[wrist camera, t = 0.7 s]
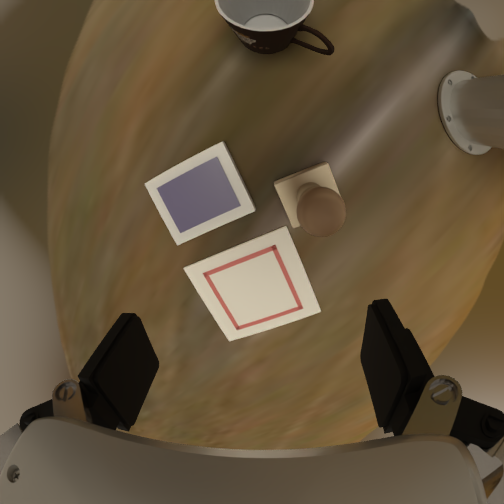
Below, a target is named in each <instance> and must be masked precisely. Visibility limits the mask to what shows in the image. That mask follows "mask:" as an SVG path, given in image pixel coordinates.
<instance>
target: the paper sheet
mask: <svg viewBox="0 0 504 504" xmlns="http://www.w3.org/2000/svg"><path fill="white" fill-rule="evenodd" d="M184 270H185V272H186V273H187V275H188V277H189V278H190V280H191V282H192V283H193V285H194V287H195V288H196V290H197V292H198V293H199V295H200V296H201V298H202V300H203V301H204V303H205V304H206V306H207V308H208V309H209V311H210V312H211V314H212V316H213V317H214V319H215V320H216V322H217V323H218V325H219V326H220V328H221V329H222V331H223V332H224V334H225V335H226V337H227V338H228V340H229V341H232V340H235V339H239V338H242V337H246V336H249V335H253V334H256V333H259V332H262V331H266V330H269V329H272V328H275V327H278V326H281V325H284V324H287V323H290V322H293V321H296V320H299V319H302V318H305V317H308V316H311V315H313V314H316V313H319V312H321V309H320V307H319V304H318V302H317V299H316V297H315V294H314V292H313V289H312V287H311V284H310V282H309V279H308V277H307V274H306V272H305V269H304V267H303V264H302V262H301V259H300V257H299V255H298V252H297V250H296V247H295V245H294V243H293V240H292V238H291V236H290V233H289V231H288V229H287V226H284V227H281V228H279V229H276V230H274V231H271V232H269V233H266V234H264V235H261V236H259V237H256V238H254V239H252V240H249V241H247V242H244V243H242V244H239V245H237V246H234V247H232V248H230V249H227V250H225V251H222V252H220V253H217V254H215V255H213V256H210V257H208V258H205V259H203V260H200V261H198V262H196V263H193V264H191V265H188V266H186V267H184Z"/></svg>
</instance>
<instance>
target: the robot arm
mask: <svg viewBox="0 0 504 504" xmlns="http://www.w3.org/2000/svg"><path fill="white" fill-rule="evenodd" d="M438 107H439V113H440V116H441V120H442V123H443V125H444V128H445V130H446V132H447V133H448V135H449V137H450V138H451V140H452V141H453V142H454V144H455V145H456V146H458V147H459V148H460V149H461V150H463V151H464V152H466V153H469V154H474V155H481V154H484V153H486V152H487V151H489V150H490V149H491V147H495V148H500V149H504V75H496V76H488V77H481V78H477V77H476V76H474V75H473V74H471V73H469V72H466V71H460V70H458V71H453V72H451V73H449V74H447V75H446V76H445V77H444V78H443V80H442V82H441V84H440V87H439V92H438ZM360 357H361V363H362V367H363V370H364V374H365V377H366V380H367V384H368V388H369V391H370V395H371V399H372V402H373V406H374V410H375V414H376V418H377V422H378V426H379V427H383V429H384V433H389V432H393V433H394V436H393V437H387V438H382V439H376V440H369V441H364V442H358V443H351V444H344V445H336V446H327V447H318V448H306V449H290V450H237V449H221V448H209V447H200V446H191V445H184V444H177V443H171V442H165V441H160V440H154V439H149V438H145V437H140V436H136V435H131V434H127V433H123V432H120V431H116V428H117V427H118V429H121V430H125V431H129V430H130V427H131V426H133V425H134V424H135V422H136V419H137V417H138V414H139V412H140V410H141V407H142V405H143V403H144V400H145V398H146V396H147V393H148V391H149V389H150V386H151V384H152V382H153V380H154V377H155V375H156V373H157V370H158V368H159V361H158V358H157V356H156V354H155V352H154V349H153V347H152V345H151V343H150V340H149V338H148V336H147V333H146V331H145V329H144V326H143V324H142V321H141V319H140V318H139V317H137V315H136V314H135V313H122V314H121V315H120V317H119V318H118V319H117V321H116V322H115V323H114V325H113V326H112V328H111V329H110V330H109V332H108V333H107V334H106V336H105V337H104V339H103V340H102V341H101V343H100V344H99V346H98V347H97V349H96V350H95V351H94V353H93V354H92V356H91V357H90V359H89V360H88V362H87V363H86V365H85V366H84V368H83V369H82V371H81V372H80V374H79V375H78V378H79V379H80V382H79V383H78V382H77V381H76V380H73V379H67V380H64V381H62V382H60V383H59V384H58V385H57V386H56V387H55V388H54V390H53V393H52V399H51V400H49V401H47V402H44V403H42V404H40V405H37V406H35V407H32V408H30V409H28V410H26V411H25V412H24V413H23V414H22V416H21V419H20V425H19V424H18V423H17V424H16V425H14V426H13V427H12V428H10V429H9V430H8V431H6V432H5V433H4V434H2V435H1V436H0V504H504V414H503V412H502V411H500V410H498V409H495V408H492V407H490V406H487V405H485V404H482V403H479V402H477V401H474V400H471V399H469V398H466V397H463V396H462V388H461V386H460V384H459V383H458V381H456V380H455V379H454V378H452V377H450V376H445V375H439V376H436V377H434V375H433V373H432V371H431V369H430V367H429V365H428V363H427V361H426V359H425V357H424V355H423V353H422V351H421V349H420V347H419V345H418V344H417V342H416V340H415V338H414V336H413V334H412V333H411V331H410V330H409V329H408V328H406V329H405V328H404V327H403V325H402V323H401V321H400V319H399V318H398V316H397V314H396V312H395V310H394V309H393V307H392V305H391V304H390V302H389V300H388V299H380V300H374V301H373V302H372V304H370V305H368V310H367V317H366V324H365V331H364V337H363V343H362V349H361V355H360Z"/></svg>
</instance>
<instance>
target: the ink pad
mask: <svg viewBox="0 0 504 504" xmlns="http://www.w3.org/2000/svg"><path fill="white" fill-rule="evenodd" d="M145 186H146V188H147V190H148V192H149V194H150V196H151V198H152V199H153V201H154V203H155V205H156V207H157V209H158V211H159V213H160V215H161V217H162V218H163V220H164V222H165V224H166V226H167V228H168V229H169V231H170V233H171V235H172V237H173V239H174V240H175V242H176V244H177V245H180V244H182V243H184V242H186V241H188V240H191V239H193V238H195V237H197V236H199V235H202V234H204V233H206V232H208V231H211V230H213V229H215V228H217V227H220V226H222V225H224V224H226V223H229V222H231V221H233V220H236V219H238V218H240V217H243V216H245V215H247V214H250V213H252V212H254V211H256V207H255V204H254V202H253V200H252V198H251V196H250V194H249V192H248V190H247V187H246V185H245V183H244V181H243V179H242V177H241V175H240V173H239V171H238V169H237V166H236V164H235V162H234V160H233V158H232V156H231V154H230V152H229V150H228V148H227V146H226V144H225V142H220V143H218V144H216V145H214V146H212V147H210V148H208V149H206V150H204V151H202V152H200V153H198V154H197V155H195V156H193V157H191V158H189V159H187V160H185V161H183V162H182V163H180V164H178V165H176V166H174V167H172V168H171V169H169V170H167V171H165V172H164V173H162V174H160V175H158V176H157V177H155V178H153V179H152V180H150V181H148V182H147V183H145Z"/></svg>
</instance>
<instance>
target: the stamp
mask: <svg viewBox="0 0 504 504" xmlns="http://www.w3.org/2000/svg"><path fill="white" fill-rule="evenodd" d="M274 186H275V188H276V190H277V192H278V195H279V197H280V199H281V201H282V204H283V206H284V208H285V211H286V213H287V215H288V218H289V220H290V222H291V225H292V227H293V228H296V227H298V226H301V227H302V228H303V229H304V230H305V231H306V232H307V233H309V234H311V235H313V236H317V237H327V236H330V235H333V234H334V233H336V232H337V231H338V230H339V229H340V228H341V227H342V226H343V224H344V221H345V218H346V206H345V203H344V201H343V199H342V198H341V196H340V193H339V191H338V188H337V185H336V182H335V180H334V177H333V174H332V172H331V169H330V167H329V164H328V163H326V162H322V163H319V164H317V165H314V166H312V167H309V168H307V169H304V170H302V171H299V172H297V173H294V174H292V175H289V176H287V177H284V178H282V179H279V180H277V181H275V182H274Z"/></svg>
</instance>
